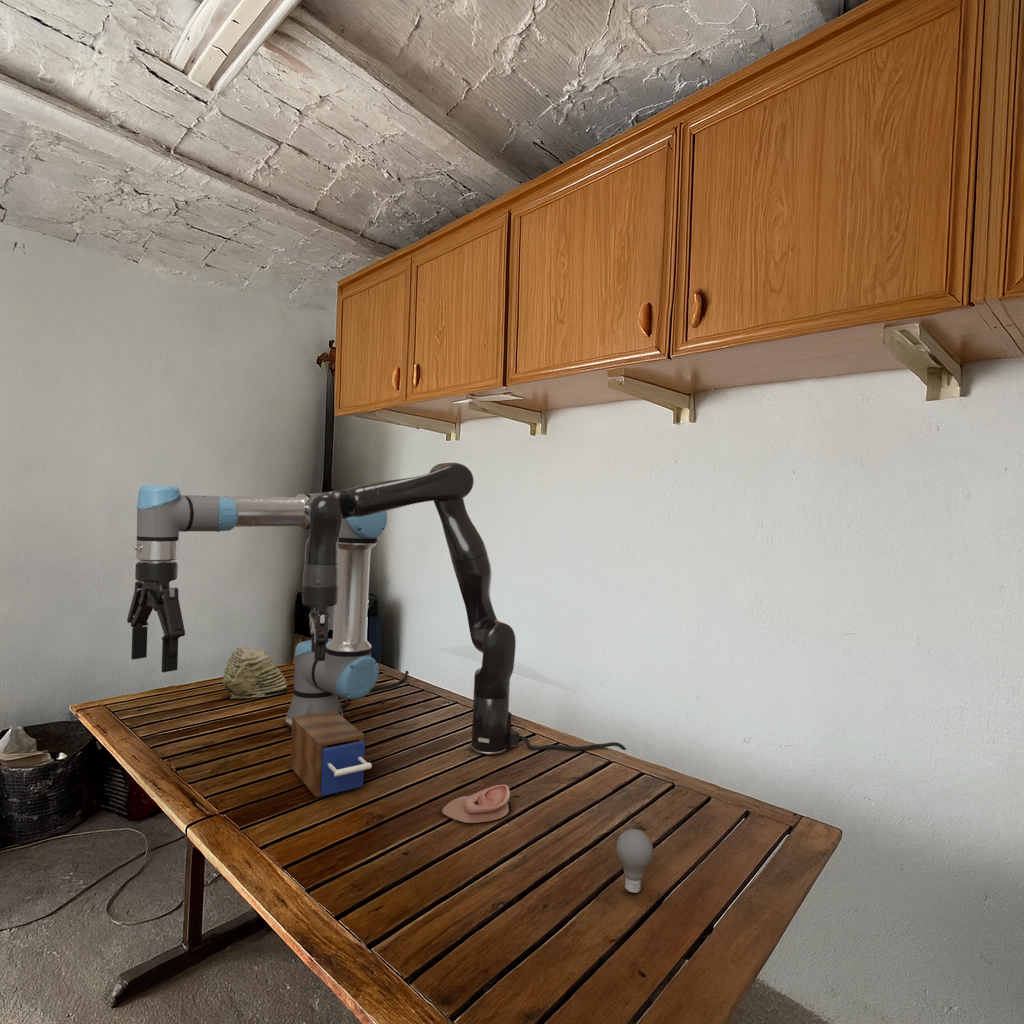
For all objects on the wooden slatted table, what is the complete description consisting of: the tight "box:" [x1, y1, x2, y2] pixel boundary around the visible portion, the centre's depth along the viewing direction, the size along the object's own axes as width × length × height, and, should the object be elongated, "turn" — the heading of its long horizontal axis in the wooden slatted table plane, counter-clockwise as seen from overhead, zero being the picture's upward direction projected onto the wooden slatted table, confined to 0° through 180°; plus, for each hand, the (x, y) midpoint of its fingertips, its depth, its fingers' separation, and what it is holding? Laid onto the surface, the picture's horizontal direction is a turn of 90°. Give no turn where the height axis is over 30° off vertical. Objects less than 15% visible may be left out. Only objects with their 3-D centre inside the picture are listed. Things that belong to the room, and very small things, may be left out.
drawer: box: [321, 740, 373, 797], centre depth 139 cm, size 22×9×10 cm, turn 36°
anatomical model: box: [441, 784, 511, 824], centre depth 131 cm, size 13×4×12 cm
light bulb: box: [615, 828, 654, 894], centre depth 106 cm, size 6×6×10 cm
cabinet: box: [289, 710, 365, 798], centre depth 143 cm, size 18×10×12 cm, turn 36°
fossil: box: [222, 646, 288, 699], centre depth 198 cm, size 9×18×15 cm, turn 132°
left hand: (153, 664), depth 130 cm, fingers open, 13 cm apart
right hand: (317, 656), depth 141 cm, fingers open, 8 cm apart
